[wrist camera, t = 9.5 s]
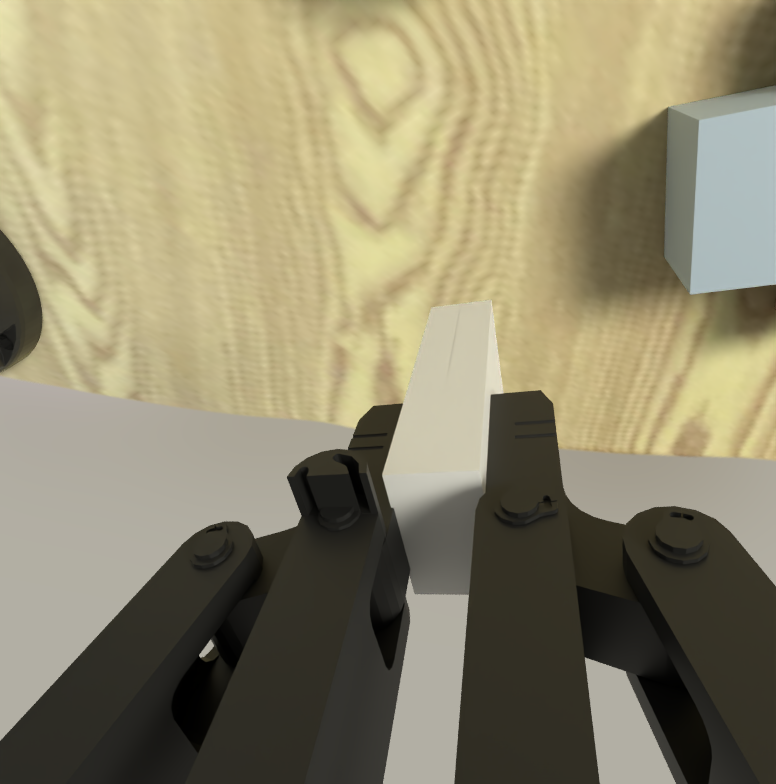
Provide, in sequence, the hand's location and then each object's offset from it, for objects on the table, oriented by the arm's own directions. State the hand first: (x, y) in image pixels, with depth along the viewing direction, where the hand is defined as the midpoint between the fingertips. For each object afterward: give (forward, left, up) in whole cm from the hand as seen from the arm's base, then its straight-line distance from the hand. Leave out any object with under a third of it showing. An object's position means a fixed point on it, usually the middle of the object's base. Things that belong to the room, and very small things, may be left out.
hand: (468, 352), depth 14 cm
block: (+12, -2, -22) cm, 25 cm away
